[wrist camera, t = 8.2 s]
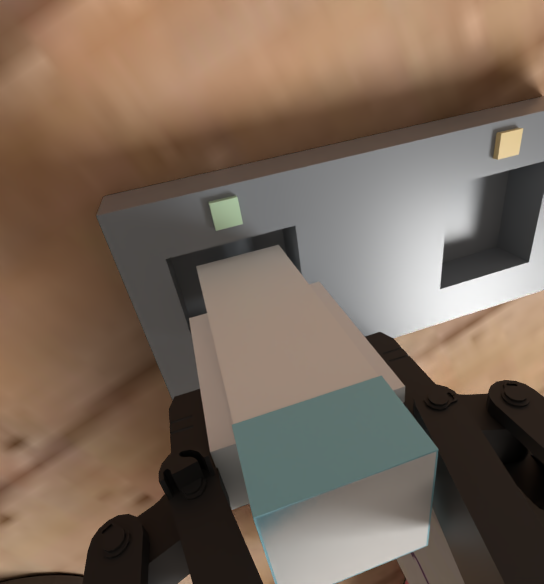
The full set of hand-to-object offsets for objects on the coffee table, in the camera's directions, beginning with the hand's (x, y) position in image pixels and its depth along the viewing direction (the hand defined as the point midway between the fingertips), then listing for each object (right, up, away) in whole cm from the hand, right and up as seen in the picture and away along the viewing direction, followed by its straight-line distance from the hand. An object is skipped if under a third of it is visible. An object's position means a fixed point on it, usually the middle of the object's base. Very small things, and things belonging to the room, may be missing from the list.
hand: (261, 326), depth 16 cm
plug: (-1, +1, +3) cm, 3 cm away
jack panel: (+5, +4, +6) cm, 9 cm away
